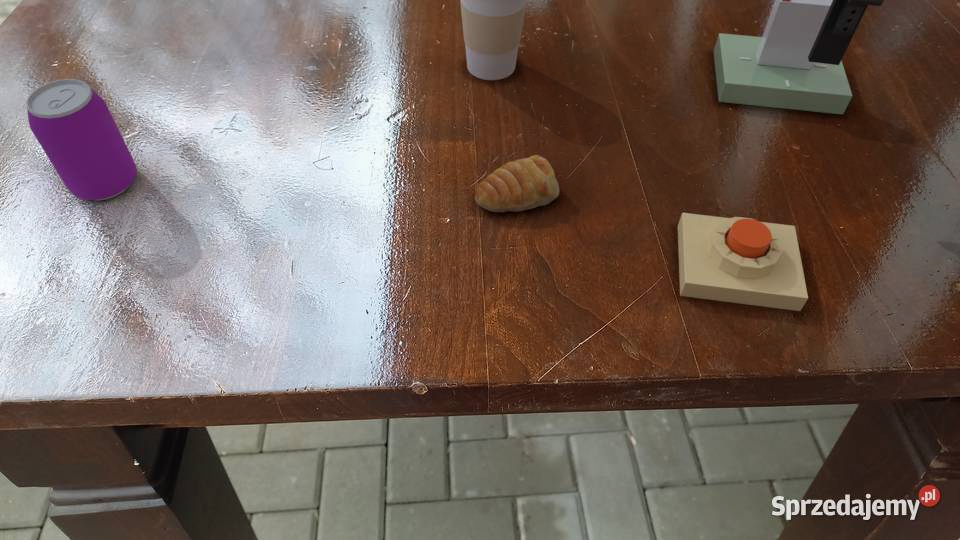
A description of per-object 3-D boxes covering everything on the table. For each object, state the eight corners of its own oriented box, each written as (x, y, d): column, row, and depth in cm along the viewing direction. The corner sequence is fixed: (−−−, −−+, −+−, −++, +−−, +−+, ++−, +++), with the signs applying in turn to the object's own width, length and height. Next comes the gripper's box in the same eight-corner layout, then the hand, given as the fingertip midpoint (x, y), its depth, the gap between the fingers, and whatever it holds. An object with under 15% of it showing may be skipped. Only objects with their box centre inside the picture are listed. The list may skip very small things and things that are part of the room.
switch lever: (808, 60, 93) (836, -5, 86) (811, 69, 92) (839, 4, 85) (755, 55, 94) (778, -10, 87) (756, 64, 92) (780, -1, 85)
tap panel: (828, 62, 98) (837, 42, 96) (843, 114, 90) (853, 94, 88) (713, 51, 100) (719, 31, 97) (718, 102, 92) (725, 81, 89)
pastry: (491, 227, 77) (492, 203, 74) (464, 190, 81) (463, 165, 78) (563, 200, 80) (566, 176, 77) (533, 166, 83) (536, 141, 81)
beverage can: (116, 210, 78) (68, 125, 69) (55, 198, 79) (1, 112, 70) (152, 166, 83) (112, 80, 73) (95, 155, 84) (49, 70, 74)
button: (764, 232, 72) (769, 220, 71) (768, 261, 69) (774, 249, 68) (724, 227, 72) (729, 216, 71) (727, 256, 70) (732, 244, 68)
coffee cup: (534, 58, 98) (543, -47, 86) (506, 92, 93) (511, -15, 81) (477, 41, 100) (478, -63, 89) (447, 73, 95) (444, -33, 84)
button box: (787, 239, 76) (801, 213, 73) (800, 311, 70) (815, 286, 67) (677, 226, 77) (686, 200, 74) (680, 296, 71) (689, 271, 68)
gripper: (847, -279, 61) (765, -41, 77) (907, -182, 45) (788, 92, 61) (936, -273, 60) (834, -34, 76) (1029, -172, 44) (876, 102, 60)
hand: (813, 23), depth 69 cm, fingers open, 13 cm apart
